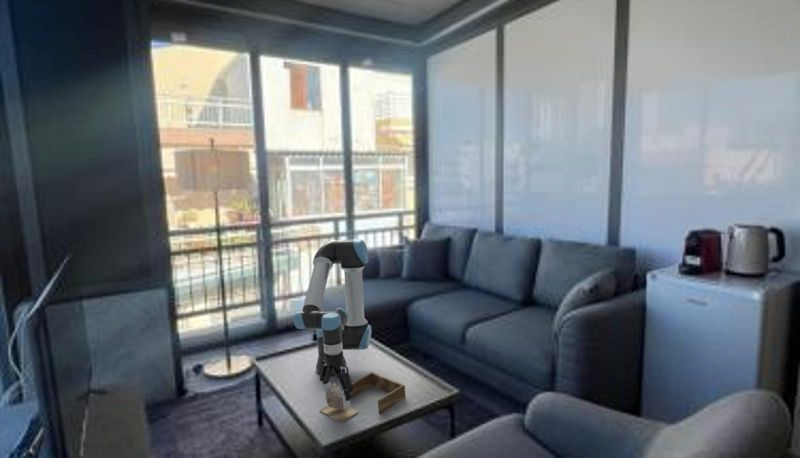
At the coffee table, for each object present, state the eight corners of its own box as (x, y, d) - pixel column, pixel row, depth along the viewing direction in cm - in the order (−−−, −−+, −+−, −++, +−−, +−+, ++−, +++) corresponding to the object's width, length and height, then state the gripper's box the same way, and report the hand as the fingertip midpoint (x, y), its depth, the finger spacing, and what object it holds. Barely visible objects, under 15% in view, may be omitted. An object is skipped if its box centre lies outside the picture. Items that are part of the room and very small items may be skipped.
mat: (319, 411, 183) (319, 410, 183) (336, 401, 189) (336, 400, 189) (342, 423, 174) (341, 421, 173) (358, 412, 180) (358, 411, 180)
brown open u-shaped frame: (347, 398, 191) (346, 385, 190) (372, 384, 203) (371, 372, 202) (380, 414, 178) (379, 400, 177) (405, 398, 190) (404, 385, 189)
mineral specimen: (322, 399, 185) (321, 385, 184) (338, 394, 189) (337, 381, 188) (332, 414, 174) (331, 399, 173) (349, 409, 177) (348, 394, 176)
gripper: (308, 347, 182) (312, 397, 185) (345, 362, 167) (349, 416, 170) (322, 341, 188) (326, 389, 191) (360, 355, 172) (363, 407, 176)
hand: (337, 402), depth 180 cm, fingers closed on mineral specimen, 11 cm apart
